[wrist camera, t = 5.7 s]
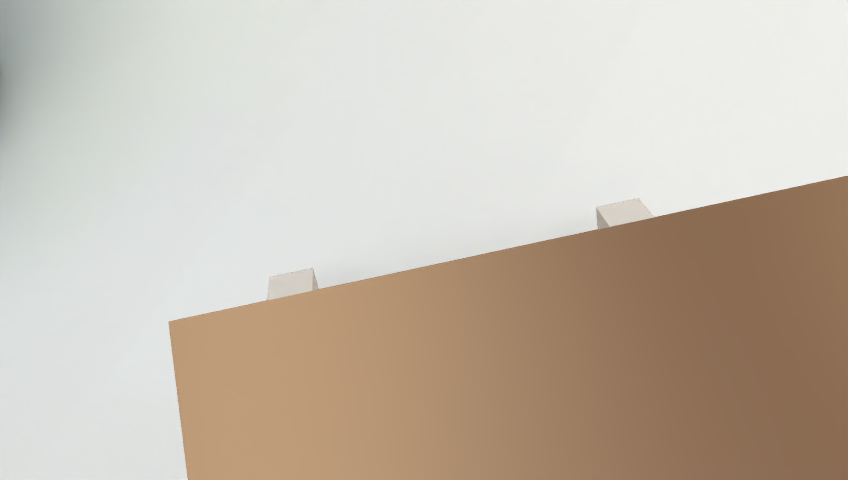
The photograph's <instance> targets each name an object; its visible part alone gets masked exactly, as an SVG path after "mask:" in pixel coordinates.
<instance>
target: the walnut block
mask: <svg viewBox="0 0 848 480" xmlns="http://www.w3.org/2000/svg"><path fill="white" fill-rule="evenodd" d="M169 329H170V337H171V345H172V354H173V362H174V370H175V378H176V386H177V394H178V403H179V411H180V419H181V427H182V435H183V444H184V452H185V460H186V468H187V476H188V480H848V176H844V177H840V178H835V179H831V180H826V181H821V182H817V183H812V184H807V185H803V186H798V187H793V188H789V189H784V190H779V191H775V192H770V193H765V194H761V195H756V196H751V197H747V198H742V199H737V200H733V201H728V202H723V203H719V204H714V205H709V206H705V207H700V208H695V209H691V210H686V211H682V212H677V213H672V214H668V215H663V216H658V217H654V218H649V219H644V220H640V221H635V222H630V223H626V224H621V225H616V226H612V227H607V228H602V229H598V230H593V231H588V232H584V233H579V234H574V235H570V236H565V237H560V238H556V239H551V240H547V241H542V242H537V243H533V244H528V245H523V246H519V247H514V248H509V249H505V250H500V251H495V252H491V253H486V254H481V255H477V256H472V257H467V258H463V259H458V260H453V261H449V262H444V263H439V264H435V265H430V266H425V267H421V268H416V269H411V270H407V271H402V272H398V273H393V274H388V275H384V276H379V277H374V278H370V279H365V280H360V281H356V282H351V283H346V284H342V285H337V286H332V287H328V288H323V289H318V290H314V291H309V292H304V293H300V294H295V295H290V296H286V297H281V298H276V299H272V300H267V301H263V302H258V303H253V304H249V305H244V306H239V307H235V308H230V309H225V310H221V311H216V312H211V313H207V314H202V315H197V316H193V317H188V318H183V319H179V320H174V321H169Z"/></svg>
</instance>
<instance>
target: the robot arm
mask: <svg viewBox="0 0 848 480" xmlns="http://www.w3.org/2000/svg"><path fill="white" fill-rule="evenodd" d="M596 212H597V225H598V229H602V228H607V227H612V226H616V225H621V224H626V223H630V222H635V221H640V220H644V219H649V218H654V216H653V215H652V214H651V212H650V211H649V210H648V209H647V208H646V206H645V205H644V204H643V203H642V202H641V200H640V199H639V198H637V199H633V200H628V201H623V202H618V203H614V204H609V205H604V206H600V207H596ZM318 289H319V288H318V285H317V281H316V278H315V274H314V271H313V268H310V269H305V270H301V271H296V272H291V273H287V274H282V275H277V276H273V277H269V286H268V296H267V300H272V299H276V298H281V297H286V296H290V295H295V294H300V293H304V292H309V291H314V290H318Z"/></svg>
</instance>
